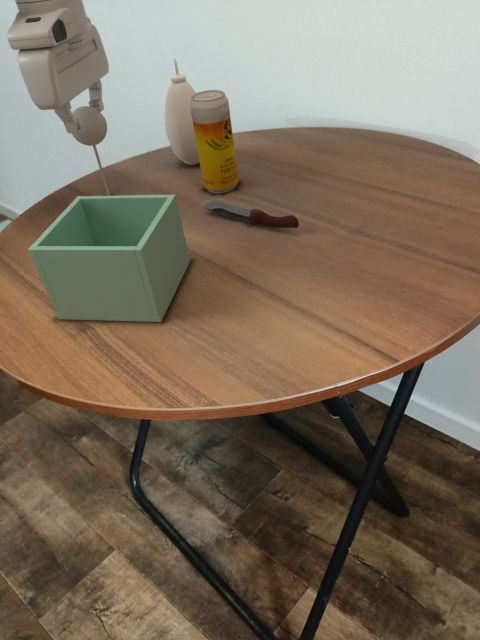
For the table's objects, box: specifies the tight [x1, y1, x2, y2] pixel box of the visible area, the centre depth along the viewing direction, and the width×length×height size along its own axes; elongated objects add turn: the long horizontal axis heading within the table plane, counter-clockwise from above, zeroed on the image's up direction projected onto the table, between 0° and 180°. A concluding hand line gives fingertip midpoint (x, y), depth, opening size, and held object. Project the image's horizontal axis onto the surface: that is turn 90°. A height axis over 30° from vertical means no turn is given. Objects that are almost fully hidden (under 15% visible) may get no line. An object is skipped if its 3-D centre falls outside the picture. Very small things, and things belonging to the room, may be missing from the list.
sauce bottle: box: [163, 58, 200, 166], centre depth 94 cm, size 8×8×18 cm
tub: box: [27, 194, 191, 323], centre depth 66 cm, size 14×14×10 cm
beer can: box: [190, 89, 239, 194], centre depth 86 cm, size 6×6×15 cm
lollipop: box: [70, 105, 112, 196], centre depth 87 cm, size 6×6×15 cm
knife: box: [200, 198, 300, 229], centre depth 79 cm, size 18×2×3 cm, turn 55°
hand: (86, 121), depth 84 cm, fingers open, 8 cm apart
